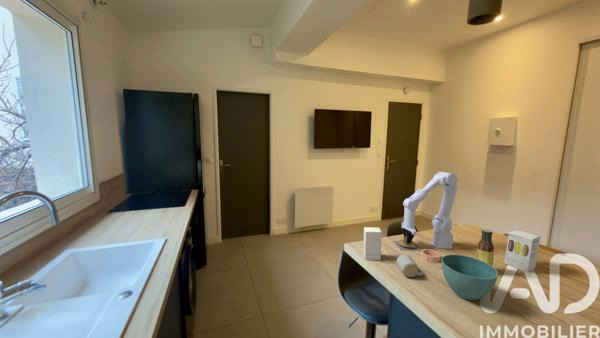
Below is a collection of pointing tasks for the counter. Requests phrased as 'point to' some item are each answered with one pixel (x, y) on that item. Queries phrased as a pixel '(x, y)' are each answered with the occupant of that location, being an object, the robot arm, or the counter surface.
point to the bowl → (430, 255)
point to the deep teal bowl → (468, 276)
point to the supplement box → (522, 250)
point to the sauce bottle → (486, 247)
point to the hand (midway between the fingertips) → (407, 241)
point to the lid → (407, 245)
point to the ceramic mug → (408, 266)
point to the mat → (406, 248)
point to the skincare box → (372, 243)
